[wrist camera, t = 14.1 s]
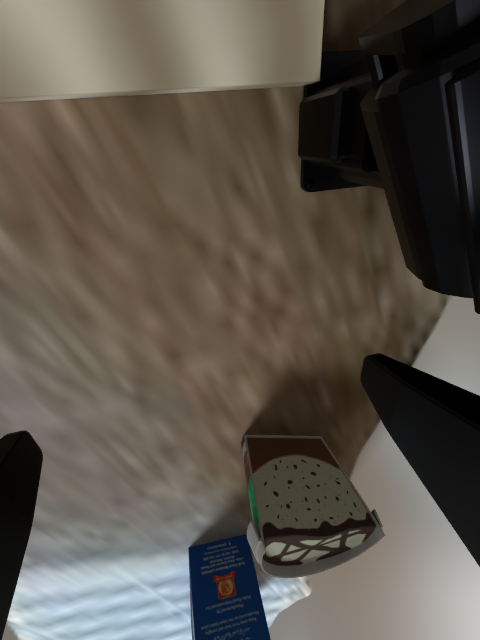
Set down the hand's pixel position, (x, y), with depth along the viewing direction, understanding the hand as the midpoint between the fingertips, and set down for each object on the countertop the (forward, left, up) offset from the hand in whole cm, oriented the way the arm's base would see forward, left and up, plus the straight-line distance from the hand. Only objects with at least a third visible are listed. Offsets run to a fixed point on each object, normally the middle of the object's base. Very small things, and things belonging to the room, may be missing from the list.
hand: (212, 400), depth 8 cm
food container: (-6, +24, -13) cm, 28 cm away
